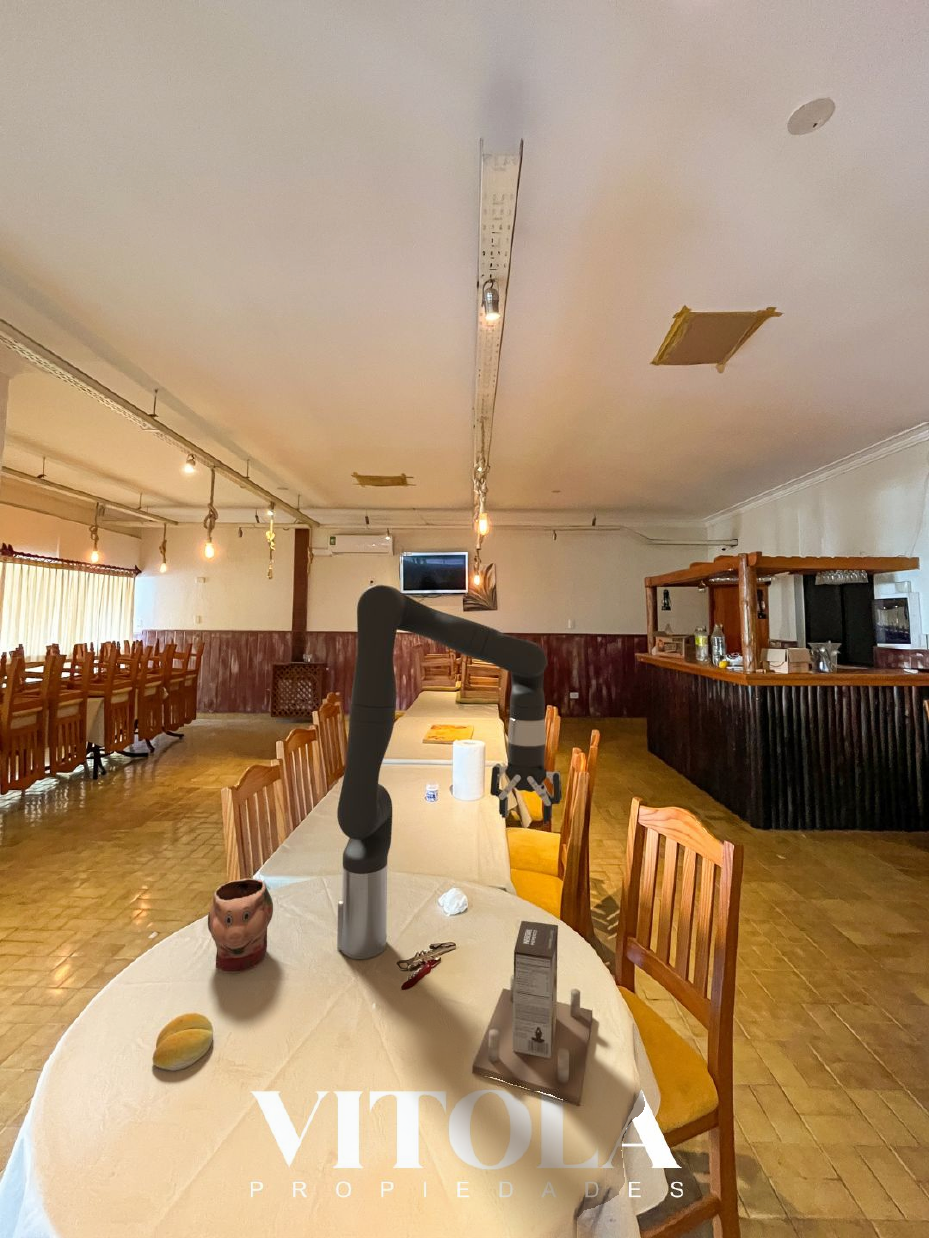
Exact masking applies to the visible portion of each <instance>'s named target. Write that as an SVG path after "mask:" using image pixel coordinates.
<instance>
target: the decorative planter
mask: <svg viewBox="0 0 929 1238" xmlns="http://www.w3.org/2000/svg"><path fill="white" fill-rule="evenodd" d="M273 915H274V903H273V899H272V896H271V894H270V893H269V890H268V888H267V884H266V883H265V882H264V881H263V880H262V879H259V878H245V877H244V878H242V879H236V880H231V881H229V882H226V883H224V884H221V885H220V886H219V887H218V888H217V889H216V890H215V891H214V894H213V898H212V904H211V905H210V907H209V910H208V913H207V929H208V931H209V933H210V934H211V937H212V940H213V941H214V943H215V946H216V954H215V968H216V969H218V970H219V971H220V972H222V973H223V972H224V973H238V972H243V971H247V970H250V969H252V968H255V967H256V966H258V965H259V964H261V963H262V962H263V960H264V959H265V957H266V954H267V950H268V927H269V924H270V923H271V922H272V921H271V920H272V918H273Z"/></svg>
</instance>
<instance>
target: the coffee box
mask: <svg viewBox="0 0 929 1238" xmlns="http://www.w3.org/2000/svg"><path fill="white" fill-rule="evenodd" d="M558 933H559V925H558V924H551V923H543V922H538V921H534V922H533V921H529V920H521V922H520V925H519V930H518V934H517V937H516V942H515V945H514V950H513V975H514V985H513V1051H515V1052H519V1053H524V1054H529V1055H535V1056H539V1057H544V1058H549V1059H551V1058H552V1052H553V1044H554V1036H555V1027H556V1011H557V1002H558V1001H557V998H558V997H557V995H558V992H557V991H558V938H559V937H558V935H559V934H558Z"/></svg>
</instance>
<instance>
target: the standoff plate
mask: <svg viewBox="0 0 929 1238" xmlns="http://www.w3.org/2000/svg"><path fill="white" fill-rule="evenodd" d="M513 985H514V974H511V975H510V985H509V987H510V989H507V988H502V990H501V993H500V995H499V998H498V1000H497V1003H496V1006H495V1007H494V1010H493V1013H492V1014H491V1018H490V1020H489V1022H488V1025H487V1028H486V1030H485V1033H484V1035H483V1038H482V1040H481V1044H480V1046H479V1047H478V1050H477V1053H476V1056H475V1059H474V1060H473V1063H472V1074H474V1075H476V1076H477V1075H478V1076H480V1077H483V1076H487V1077H493V1078H497V1079H500V1080H503V1081H505V1082H507V1083H510V1084H513V1085H517V1086H521V1087H524V1088H527V1089H530V1090H532V1091H531V1092H533V1091H540V1092H543V1093H546V1094H551V1095H553V1096H555V1097H557V1098H560V1099H563V1102H566V1103H569V1104H572V1105H576V1106H580V1105H581V1098H582V1092H583V1084H584V1078H585V1071H586V1064H587V1063H586V1062H587V1056H588V1051H589V1050H588V1049H589V1043H590V1038H591V1037H590V1035H591V1029H592V1021H593V1009H589V1008H584V1007H581V991H580V990H579V989H577V988H572V989H570V1004H568V1003H564V1002H561V1001H557V1011H556V1027H555V1036H554V1044H553V1052H552V1058H551V1059H549V1058H544V1057H539V1056H535V1055H529V1054H524V1053H519V1052H515V1051H513ZM487 1077H486V1078H487ZM510 1084H509V1085H510ZM513 1085H512V1086H513Z"/></svg>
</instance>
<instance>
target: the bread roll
mask: <svg viewBox="0 0 929 1238" xmlns="http://www.w3.org/2000/svg"><path fill="white" fill-rule="evenodd" d="M213 1028H214V1027H213V1025H212V1022H211V1021H210V1020H209V1018H208V1017H206V1016H205V1015H203V1014H200V1013H197V1012H192V1013H189V1012H188V1013H184V1014H182V1015H179V1016H177V1017H176V1018H173V1019H172V1020H171V1021H170V1022H168V1023H167V1024H166V1025H165V1026H164V1027H163V1028H162V1029H161V1031H160V1032H159V1034H158V1036H157V1039H156V1042H155V1043H156V1044H155V1050H154V1052H153V1055H152V1064H153V1065H154V1066H155V1067H156V1068H159V1069H162V1070H167V1071H172V1072H173V1071H180V1070H183V1069H185V1068H187V1067H189V1066H191V1065H193V1064H195V1063H196V1062H197V1061H199V1060H200V1059H201V1058H202V1057H203V1056H204V1055H206V1054H207V1052H208V1051H209V1049H210V1048H211V1045H212V1042H213V1039H214V1031H213Z"/></svg>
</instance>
